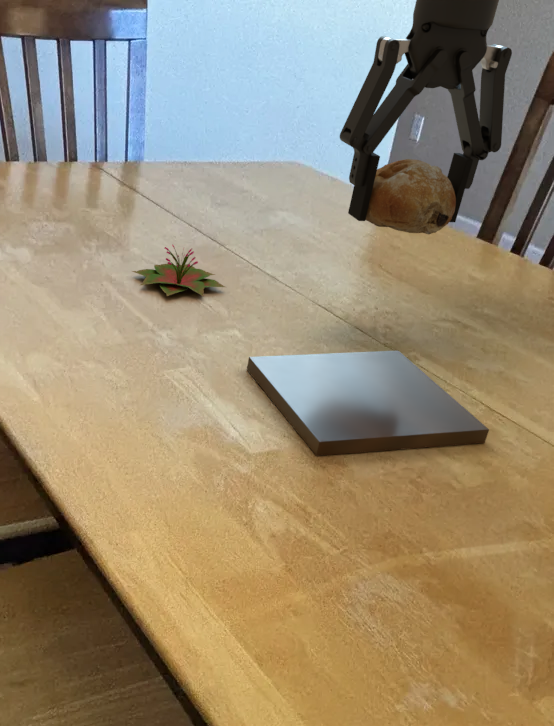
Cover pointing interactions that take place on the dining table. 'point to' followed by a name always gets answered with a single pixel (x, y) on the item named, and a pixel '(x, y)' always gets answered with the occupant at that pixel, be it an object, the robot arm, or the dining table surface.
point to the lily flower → (178, 276)
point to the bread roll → (411, 197)
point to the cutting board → (363, 402)
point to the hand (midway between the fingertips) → (401, 217)
